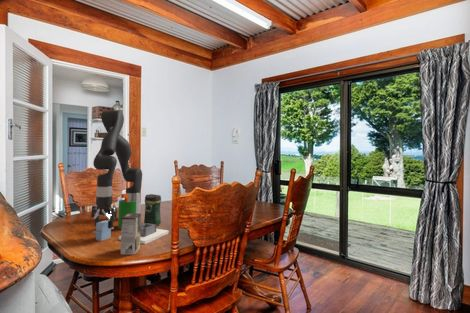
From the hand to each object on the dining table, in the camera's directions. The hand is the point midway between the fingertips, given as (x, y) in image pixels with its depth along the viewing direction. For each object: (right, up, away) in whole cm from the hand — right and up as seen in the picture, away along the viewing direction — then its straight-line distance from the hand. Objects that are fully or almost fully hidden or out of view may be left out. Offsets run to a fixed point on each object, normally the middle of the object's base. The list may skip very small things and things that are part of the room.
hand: (103, 227), depth 138 cm
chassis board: (+19, -6, +6) cm, 21 cm away
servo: (0, -6, 0) cm, 6 cm away
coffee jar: (+16, -6, +29) cm, 34 cm away
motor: (+3, -6, +21) cm, 22 cm away
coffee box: (+20, -7, -16) cm, 26 cm away
